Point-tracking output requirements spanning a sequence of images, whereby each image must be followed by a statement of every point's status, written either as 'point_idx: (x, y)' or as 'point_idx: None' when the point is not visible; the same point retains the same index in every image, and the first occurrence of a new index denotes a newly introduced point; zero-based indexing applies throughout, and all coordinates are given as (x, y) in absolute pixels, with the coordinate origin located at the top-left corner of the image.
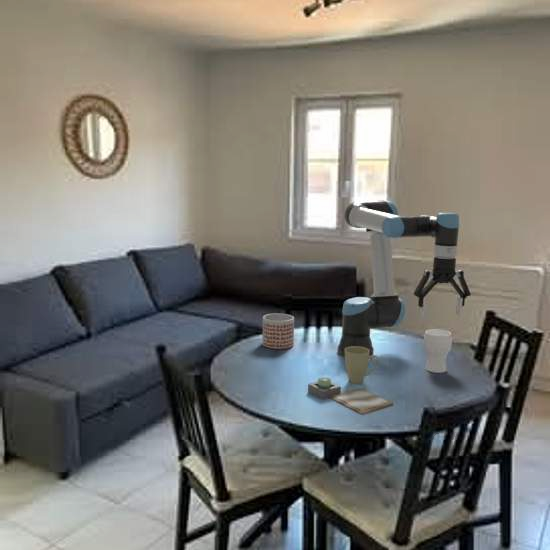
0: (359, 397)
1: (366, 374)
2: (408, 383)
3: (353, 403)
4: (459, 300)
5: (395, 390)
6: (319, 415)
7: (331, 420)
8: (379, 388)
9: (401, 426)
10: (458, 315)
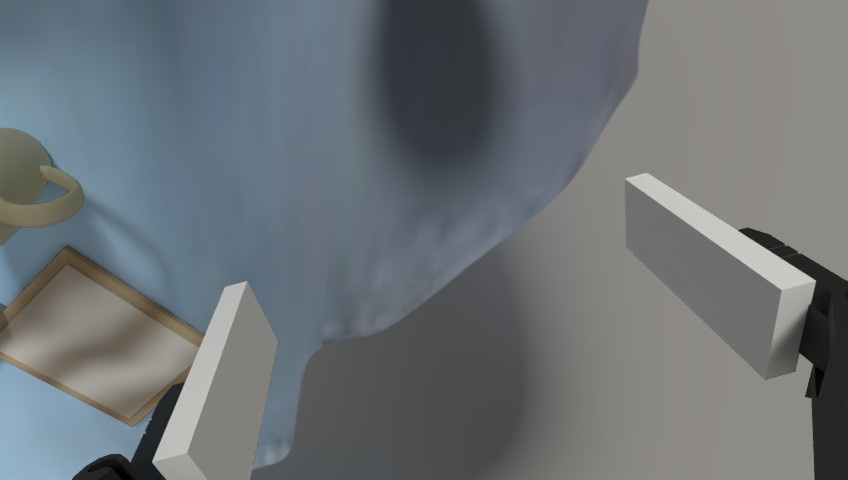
0: (91, 339)
1: (48, 181)
2: (268, 144)
3: (85, 383)
4: (739, 327)
5: (217, 229)
6: (6, 450)
7: (56, 466)
8: (148, 221)
9: (258, 454)
10: (626, 232)
